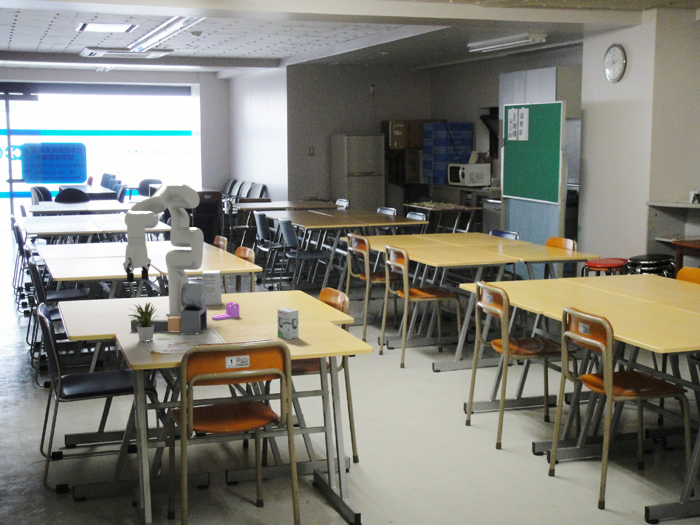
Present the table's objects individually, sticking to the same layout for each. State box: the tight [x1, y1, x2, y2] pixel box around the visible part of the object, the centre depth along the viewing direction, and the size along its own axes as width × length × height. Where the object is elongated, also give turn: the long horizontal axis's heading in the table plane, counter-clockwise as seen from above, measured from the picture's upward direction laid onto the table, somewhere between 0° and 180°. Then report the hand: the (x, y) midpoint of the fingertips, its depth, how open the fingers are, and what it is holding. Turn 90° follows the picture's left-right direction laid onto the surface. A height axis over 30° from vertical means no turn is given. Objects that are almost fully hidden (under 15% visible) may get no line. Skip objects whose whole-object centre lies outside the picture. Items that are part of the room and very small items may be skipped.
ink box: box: [277, 307, 299, 340], centre depth 327 cm, size 9×5×12 cm, turn 44°
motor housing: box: [180, 282, 208, 335], centre depth 340 cm, size 12×8×21 cm, turn 175°
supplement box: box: [201, 270, 222, 306], centre depth 409 cm, size 10×9×17 cm
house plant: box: [128, 302, 158, 342], centre depth 324 cm, size 14×14×16 cm
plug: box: [130, 316, 182, 332], centre depth 343 cm, size 5×23×6 cm, turn 85°
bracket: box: [211, 301, 240, 321], centre depth 370 cm, size 13×6×7 cm, turn 132°
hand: (137, 280), depth 337 cm, fingers open, 9 cm apart
